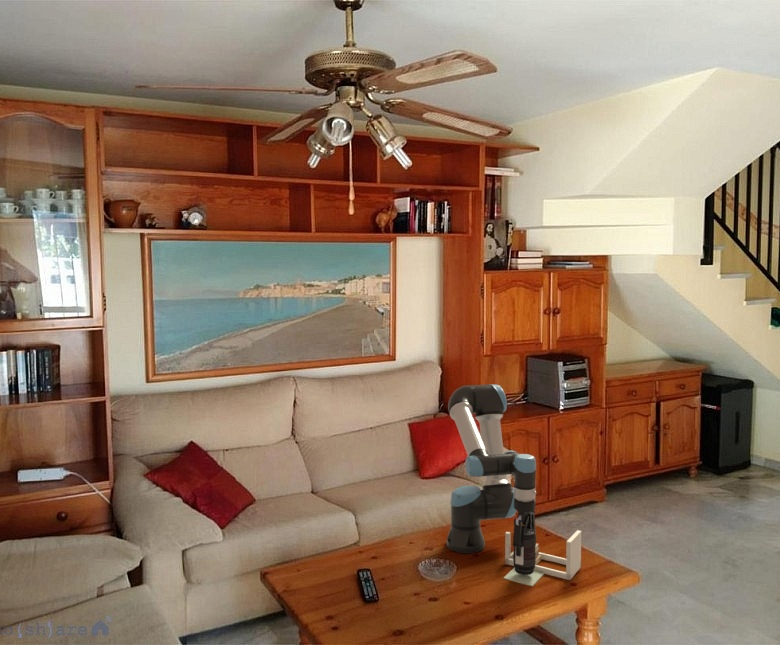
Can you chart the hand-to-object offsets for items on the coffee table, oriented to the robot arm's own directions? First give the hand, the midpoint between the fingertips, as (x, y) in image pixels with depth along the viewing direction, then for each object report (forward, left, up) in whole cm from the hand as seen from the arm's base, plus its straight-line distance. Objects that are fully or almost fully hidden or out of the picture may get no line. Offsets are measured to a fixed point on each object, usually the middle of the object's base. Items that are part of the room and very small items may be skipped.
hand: (524, 559), depth 252 cm
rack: (+2, +12, -6) cm, 14 cm away
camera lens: (0, 0, -4) cm, 4 cm away
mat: (0, 0, -6) cm, 6 cm away
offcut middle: (-4, +12, -5) cm, 13 cm away
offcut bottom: (-4, +12, -7) cm, 14 cm away
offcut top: (-4, +12, -2) cm, 13 cm away
